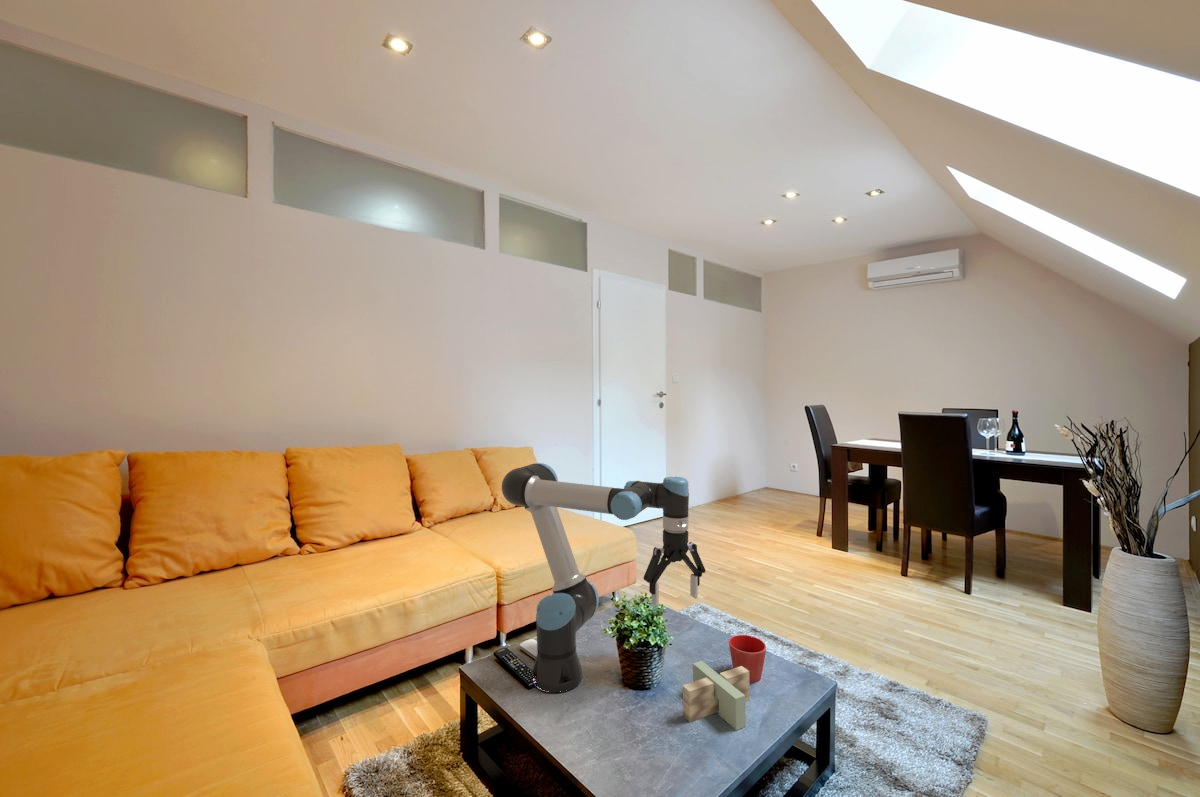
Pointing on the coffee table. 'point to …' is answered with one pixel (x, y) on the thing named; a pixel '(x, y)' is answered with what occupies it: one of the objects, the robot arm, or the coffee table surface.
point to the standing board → (711, 693)
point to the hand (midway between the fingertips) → (674, 600)
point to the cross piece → (724, 695)
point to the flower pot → (748, 655)
